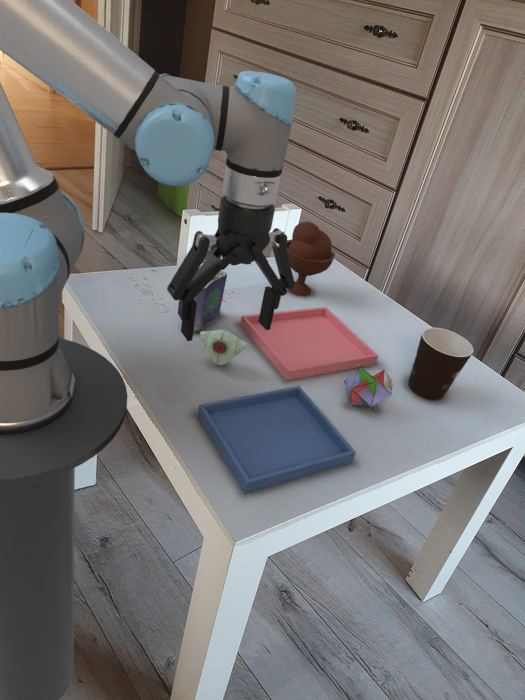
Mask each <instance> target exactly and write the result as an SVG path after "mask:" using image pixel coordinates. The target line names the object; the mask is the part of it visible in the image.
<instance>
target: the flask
mask: <svg viewBox="0 0 525 700" xmlns="http://www.w3.org/2000/svg"><path fill="white" fill-rule="evenodd" d="M227 278H228V273H227V272H226V271H224V270H220V271H219V272H218V274H217V275H216V276H215V277H214V278H213V279H212V280H211V281H210V282H209V283H208V284H207V285H206V286H205V287H204V288H203V289H202V291H201V292H200V293H199V294H198V295H197V296H196V297H195V298H194V300H195V301H196V302H197V307H196V315H195V323H194V330H193V334H194V333H195V334H196V333H197V332H200V331H203V329H204V328H206V327H207V326H209V325H210V323H212V322H213V321H215V320H216V319H218V318H219V317H220V313H221V308H222V302H223V298H224V292H225V288H226V282H227Z"/></svg>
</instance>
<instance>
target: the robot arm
mask: <svg viewBox="0 0 525 700" xmlns="http://www.w3.org/2000/svg"><path fill="white" fill-rule="evenodd" d="M0 51H1V52H2V53H4V54H5V55H6V56H8V58H10V59H11V60H12V61H14V62H15V63H17V64H18V65H19V66H21V67H22V68H23V69H25V70H26V71H28V72H29V73H30V74H31V75H32V76H34V77H35V78H37V79H38V80H40V81H41V82H42V83H44V85H46V86H47V87H49V88H50V89H52V90H53V91H54V92H55V93H56V94H58V95H60V96H61V97H62V98H63V99H65V100H66V101H67V102H69V103H70V104H71V105H73V106H74V107H75V108H77V109H78V110H80V111H81V112H82V113H83V114H84V115H86V116H88V117H89V118H90V119H92V120H93V121H94V122H96V123H97V124H98V125H100V126H101V127H102V128H104V129H105V130H107V131H108V132H109V133H110V134H112V135H113V136H114V137H116V138H117V139H118V140H120V141H121V142H122V143H123V144H125V145H126V146H128V148H130V149H131V150H133V151H134V152H135V153H136V156H137V159H138V161H139V164H140V165H141V167H142V168H143V170H144V172H145V173H146V174H147V175H148V176H150V177H151V178H152V179H153V180H154V181H157V182H158V183H160V184H162V185H165V186H171V187H182V186H187V185H189V184H192V183H194V182H195V181H197V180H199V179H200V177H202V176H203V174H205V173H206V172H207V170H208V168H209V165H210V163H211V160H212V157H213V154H214V152H215V151H218V152H226V158H225V160H226V161H225V165H224V166H225V167H224V174H223V180H222V187H221V193H222V197H221V198H220V200H219V201H220V202H219V209H218V216H217V230H216V232H215V233H214V234H204V233H203V231H201V230H198V231H196V232H195V233H194V235H193V236H194V237H193V240H192V244H191V247H190V249H189V251H187V253H186V255H185V257H184V259H183V261H182V262H181V264H180V266H178V269H177V270H176V272H175V274H174V275H173V277H172V279H171V280H170V282H169V284H168V285H167V287H166V290H167V292H168V294H169V295H170V296H171V298H172V299H173V300H174V301H178V307H177V315H178V317H179V318H180V320H181V327H180V333H181V334H182V336H183V337H184V338H185V341H187V342H191V341H193V338H194V332H193V330H194V323H195V315H196V307H197V302H196V301H195V300H194V298H195V297H196V296H197V295H198V294H199V293H200V292H201V291H202V289H203V288H204V287H205V286H206V285H207V284H208V283H209V282H210V281H211V280H212V279H213V278H214V277H215V276H216V275H217V274H218V272H219V271H220V270H222V271H224V270H226V268H227V267H229V265H231V266H238V265H241V264H242V265H252V263H253V262H254V263H255V264H256V265H257V267H258V268H259V270H260V271H261V273H262V274H263V276H264V277H265V279H266V280H267V282H268V284H269V285H270V286H265V287H264V291H263V297H262V301H261V306H260V310H259V314H260V315H259V320H258V322H259V323H260V324H261V325H262V326H263V327H264V328H265V330H270V328H271V323H272V318H273V314H274V312H275V310H278V308H279V306H280V302H281V299H282V297H284V296H285V295H286V294H287V293H288V290H287V288H290V289H292V288H293V287H294V286H295V282H296V281H295V277H294V275H293V274H294V273H293V271H292V270H293V269H292V268H291V266H290V262H289V258H288V254H287V250H286V246H287V240H288V235H287V234H285V232H283V231H282V230H281V229H279V228H278V227H275V228H273V230H272V227H273V221H274V215H275V211H276V207H275V205H274V204H276V202H277V199H278V194H279V189H280V184H281V179H282V173H283V168H284V164H285V159H286V153H287V149H288V145H289V139H290V135H291V130H292V127H293V125H294V121H293V119H294V113H295V106H296V98H297V88H296V86H295V84H294V83H293V82H292V81H291V80H290V79H288V78H286V77H283V76H279V75H277V74H274V73H273V74H272V73H268V72H262V71H254V70H243V71H241V72H239V74H238V75H237V78H236V82H235V84H234V86H233V85H229V86H226V85H219V84H214V83H210V82H209V83H208V82H204V81H199V80H193V79H188V78H183V77H179V76H172V75H170V74H169V73H165V72H164V73H161V74H160V73H158V72H157V71H156V70H155V69H154V68H153V67H152V66H150V65H149V64H148V63H147V62H146V61H145V60H143V59H142V58H141V57H140V56H139V55H137V54H136V53H135V52H134V51H132V49H130V48H129V47H128V46H127V45H125V44H124V43H123V42H122V41H121V40H120V39H118V38H117V37H116V36H115V35H113V34H112V33H111V32H110V31H109V30H107V29H106V28H105V27H104V26H103V25H102V24H100V23H99V22H98V21H97V20H95V18H93V16H91V15H90V14H88V13H87V12H86V11H85V10H84V9H83V8H82V7H80V6H79V5H77V3H75V2H74V1H73V0H0ZM83 217H84V216H83V214H82V211H81V210H80V207H79V206H78V205H77V203H75V201H74V200H73V199H72V198H71V197H70V196H69V195H68V194H67V193H64V192H62V190H61V188H60V186H59V183H58V181H57V178H56V176H55V174H54V173H53V172H52V171H51V170H48V169H46V168H44V167H41V166H40V165H38V163H36V160H35V157H34V155H33V153H32V152H31V148H30V147H29V144H28V142H27V140H26V137H25V135H24V133H23V131H22V128H21V126H20V124H19V121H18V119H17V117H16V115H15V112H14V110H13V108H12V106H11V104H10V101H9V99H8V97H7V94H6V92H5V90H4V87H3V85H2V83H1V82H0V434H18V433H24V432H29V431H32V430H36V429H39V428H41V427H44V426H46V425H48V424H50V423H52V422H54V421H55V420H57V419H58V418H59V417H61V416H62V415H63V414H64V413H65V412H66V411H67V410H68V408H69V407H70V405H71V403H72V400H73V396H74V383H75V377H74V375H73V372H72V374H71V372H70V370H69V367H68V365H67V363H66V360H65V358H64V356H63V354H62V351H61V349H60V347H59V338H60V324H59V323H60V322H59V321H60V315H59V307H60V306H59V305H60V298H61V295H62V293H63V291H64V288H65V286H66V284H67V282H68V280H69V278H70V275H71V273H72V272H73V269H74V268H75V265H76V263H77V261H78V260H79V258H80V256H81V255H82V252H83V249H84V244H85V235H86V228H85V221H84V218H83ZM271 230H272V231H271ZM268 245H271V249H272V253H273V256H274V260H275V264H276V267H277V272H278V274H279V277H278V275H277V274H276V273H275V271H274V269H273V268H272V266H271V265H270V263H269V260H268V259H267V257H266V256H265V254H264V253H263V252H264V250H265V249H266V248H267V246H268ZM213 246H215V247H214V248H213V250H212V247H213ZM208 252H209V254H208ZM207 255H208V258H207V259H206V256H207ZM220 256H221V259H220ZM205 259H206V260H205ZM204 260H205V261H204Z"/></svg>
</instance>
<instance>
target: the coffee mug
mask: <svg viewBox="0 0 525 700" xmlns="http://www.w3.org/2000/svg"><path fill="white" fill-rule="evenodd" d="M473 354H474V347H473V345H472V344H471V343H470V341H468V339H466V338H465V337H463V336H462V335H461V334H459V333H456V332H454V331H451V330H449V329H446V328H441V327H427V328H424V329H423V330H422V332H421V335H420V339H419V341H418V346H417V350H416V354H415V357H414V360H413V364H412V367H411V372H410V375H409V379H408V382H407V384H408V385H407V386H408V388H409V389H410V390H411V392H413V393H414V394H415V395H416V396H418V397H419V398H422V399H425V400H428V401H440V400H442V399H443V398H444V397H445V396H446V394H447V392H448V391H449V389H450V388H451V386H452V385H453V383H454V382H455V380H457V378H458V376H459V375H460V373H461V371H462V370H463V369H464V367H465V365H466V364H467V363H468V361H469V359H470V358H471V356H472V355H473Z"/></svg>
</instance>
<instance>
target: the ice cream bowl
mask: <svg viewBox="0 0 525 700" xmlns="http://www.w3.org/2000/svg"><path fill="white" fill-rule="evenodd" d="M291 235H292V237H291V239H287V246H286V250H287V254H288V258H289V262H290V266H291V270H293V271H294V272H295V273H297V279H296V281H294V282H295V286H294V287H293V288H292V289H290V288H287V289H286V290H287V292H289V293H290V294H292V295H295V296H298V297H309V296H310V295H311V294H312V288H311V287H310V286H309V285H308V284H306V279H307V278H308V277H311V276H314V275H319V274H321V273H323V272H325V271H327V270H328V269H329V268H330V266H331V265H332V264H333V261H334V259H335V255H336V254H335V252H334V251H333V250H332V244H333V243H332V240H331V238H330V237H329V235H328V234H327V233H325V232H324V231H323V230H320V228H319V226H318V225H317V224H315V223H313V222H311V221H301V222H300V223H298V224H296V225H295V226H294V228H293V231H292V234H291Z"/></svg>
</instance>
